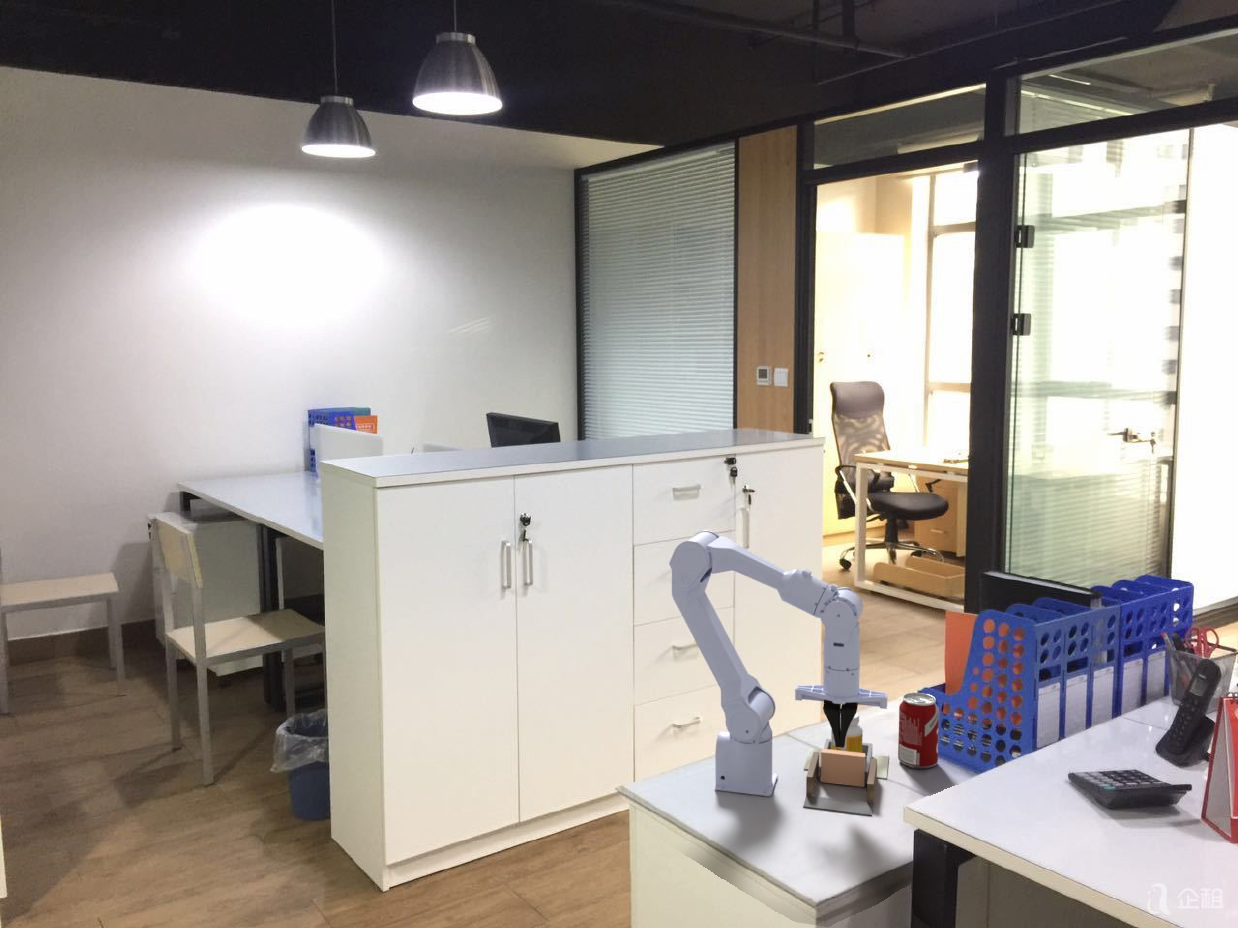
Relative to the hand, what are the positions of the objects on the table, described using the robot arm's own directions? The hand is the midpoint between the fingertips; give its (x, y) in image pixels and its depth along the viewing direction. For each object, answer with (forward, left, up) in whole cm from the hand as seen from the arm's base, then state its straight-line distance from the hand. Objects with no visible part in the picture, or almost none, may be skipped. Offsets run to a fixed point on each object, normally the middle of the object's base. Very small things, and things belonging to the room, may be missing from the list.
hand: (840, 744), depth 166 cm
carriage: (0, +12, -9) cm, 15 cm away
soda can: (+12, +17, -10) cm, 23 cm away
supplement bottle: (0, +13, -10) cm, 16 cm away
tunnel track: (0, +7, -9) cm, 12 cm away
